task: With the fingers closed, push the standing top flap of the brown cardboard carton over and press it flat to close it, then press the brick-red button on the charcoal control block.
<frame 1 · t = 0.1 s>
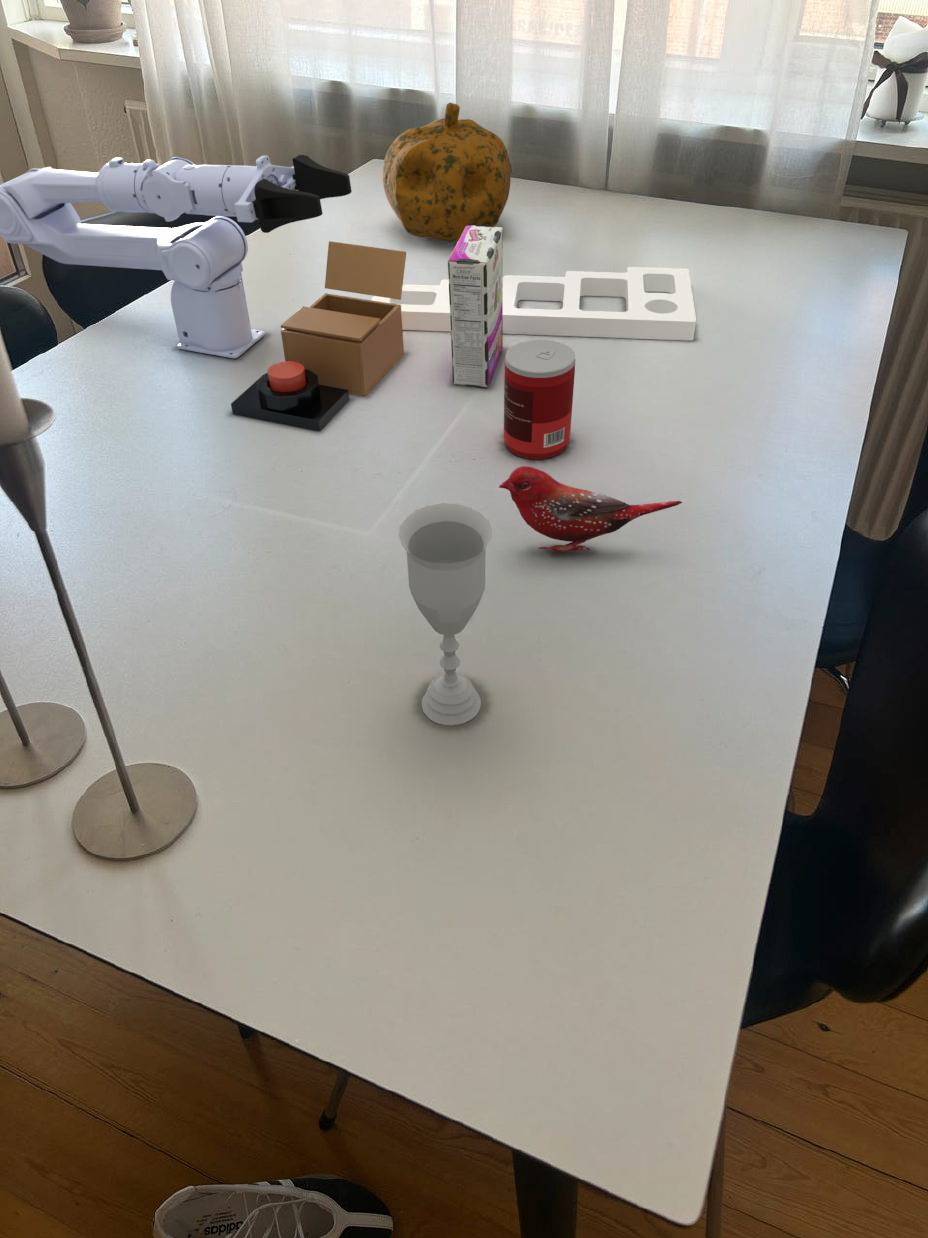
hand: (334, 194, 113), 22 cm above the table, tool horizontal, fingers open, 7 cm apart
holder: (532, 307, 140), on the table
canned food: (536, 443, 113), on the table
decorative pumpkin: (446, 231, 163), on the table
carton: (347, 368, 127), on the table
control block: (291, 407, 119), on the table
button: (287, 377, 117), point 4 cm above the table, slide at 0.1 cm
flap: (364, 270, 125), point 10 cm above the table, hinge at 115.0°
candy bar box: (477, 368, 127), on the table
chalice: (451, 704, 82), on the table
decorative bird figurine: (585, 553, 97), on the table
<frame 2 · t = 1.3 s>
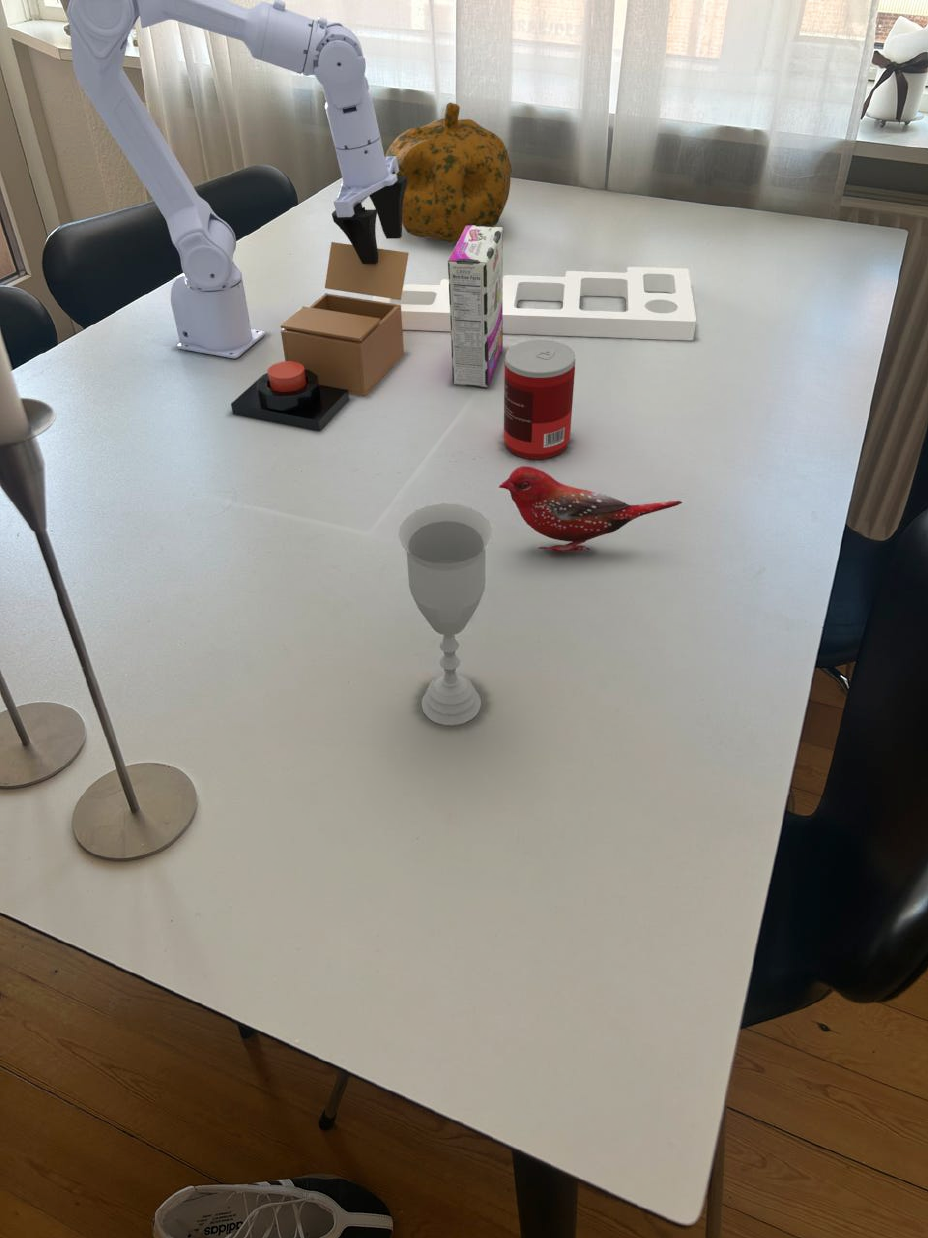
hand: (382, 249, 127), 11 cm above the table, tool pointing down, fingers open, 7 cm apart
flap: (366, 270, 125), point 10 cm above the table, hinge at 122.5°, touching gripper
everything else where it was.
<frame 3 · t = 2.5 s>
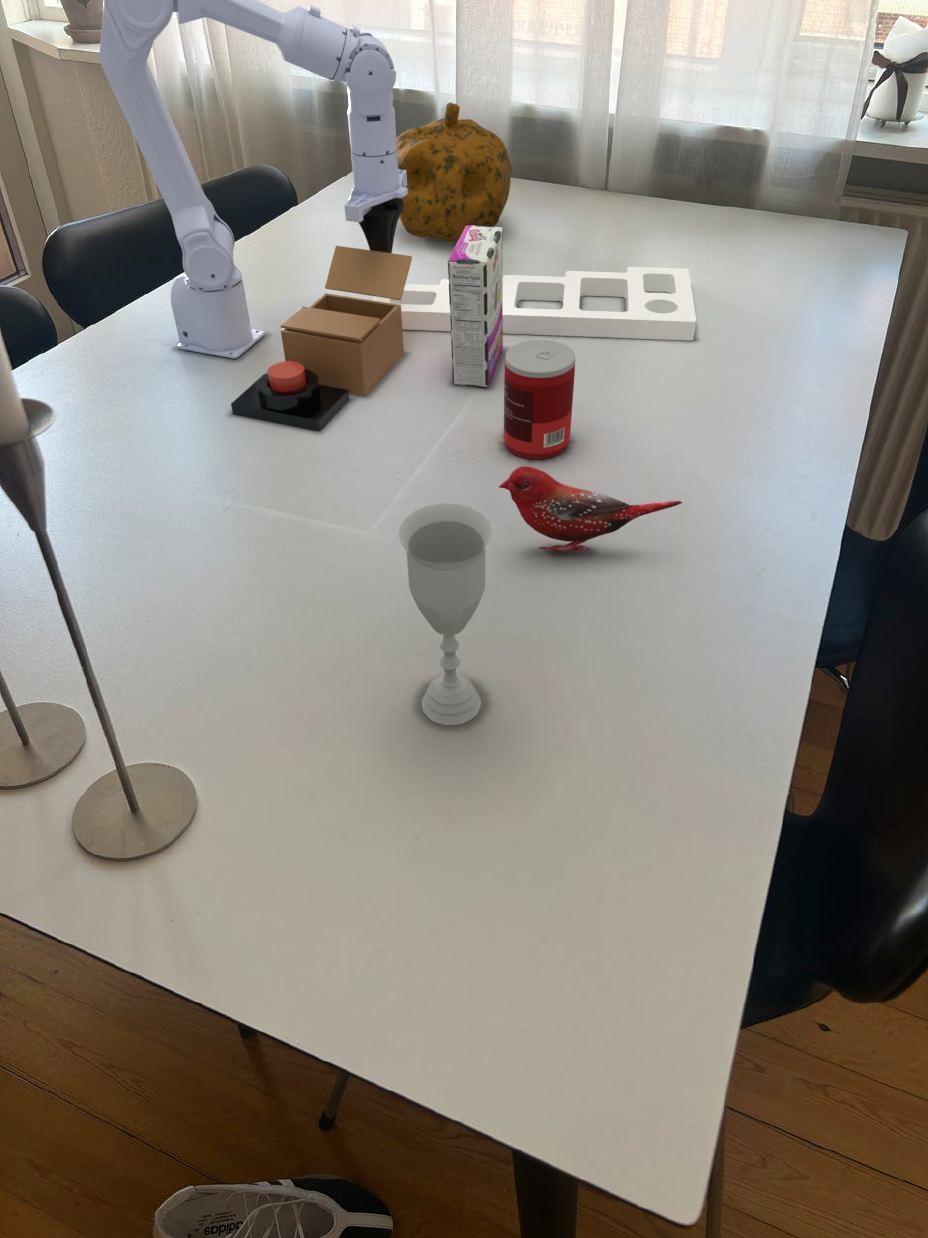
hand: (381, 258, 129), 10 cm above the table, tool pointing down, fingers closed
flap: (368, 272, 126), point 10 cm above the table, hinge at 136.1°
everything else where it was.
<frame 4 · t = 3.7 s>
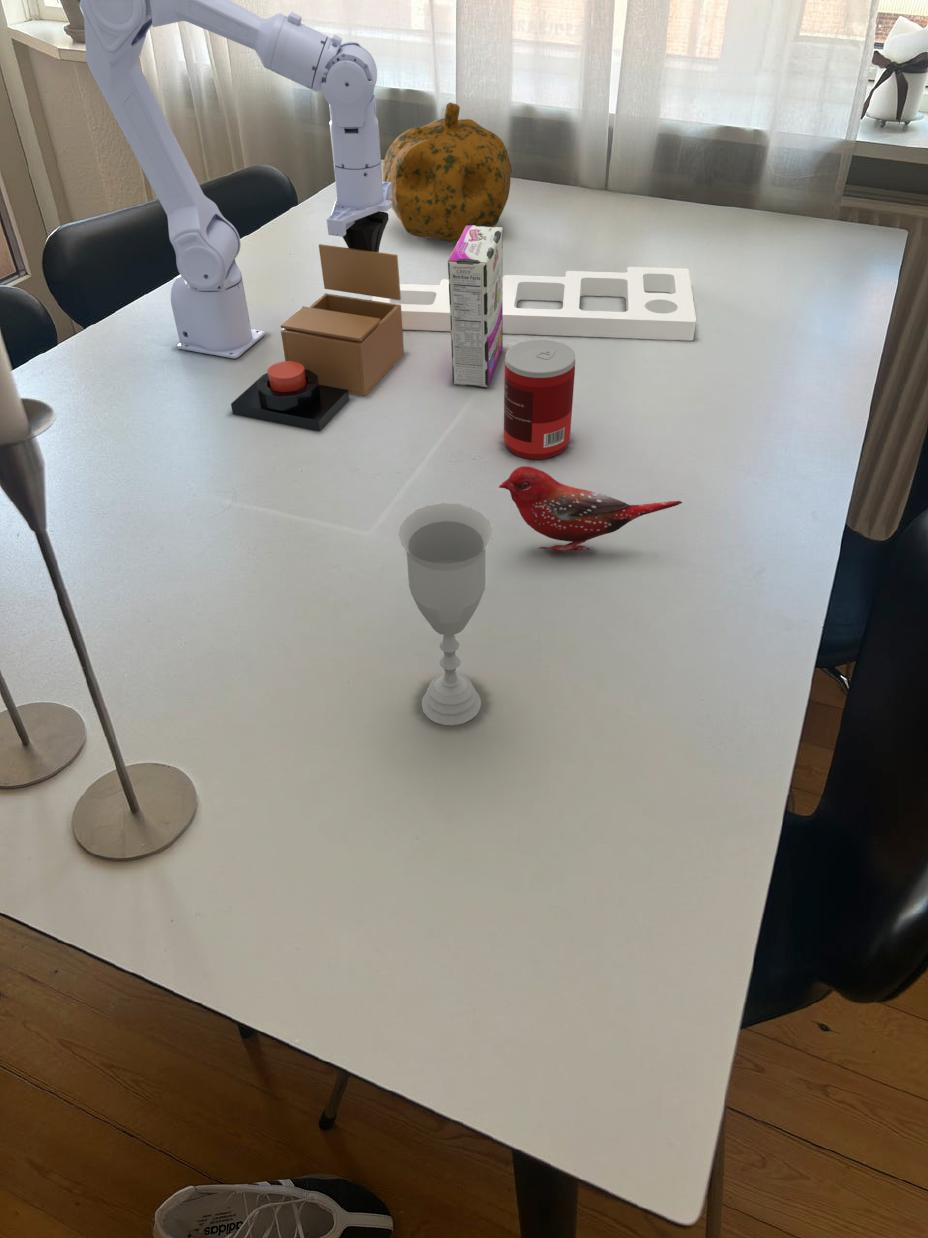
hand: (366, 272, 126), 10 cm above the table, tool pointing down, fingers closed
flap: (359, 272, 124), point 11 cm above the table, hinge at 87.8°, touching gripper
everything else where it was.
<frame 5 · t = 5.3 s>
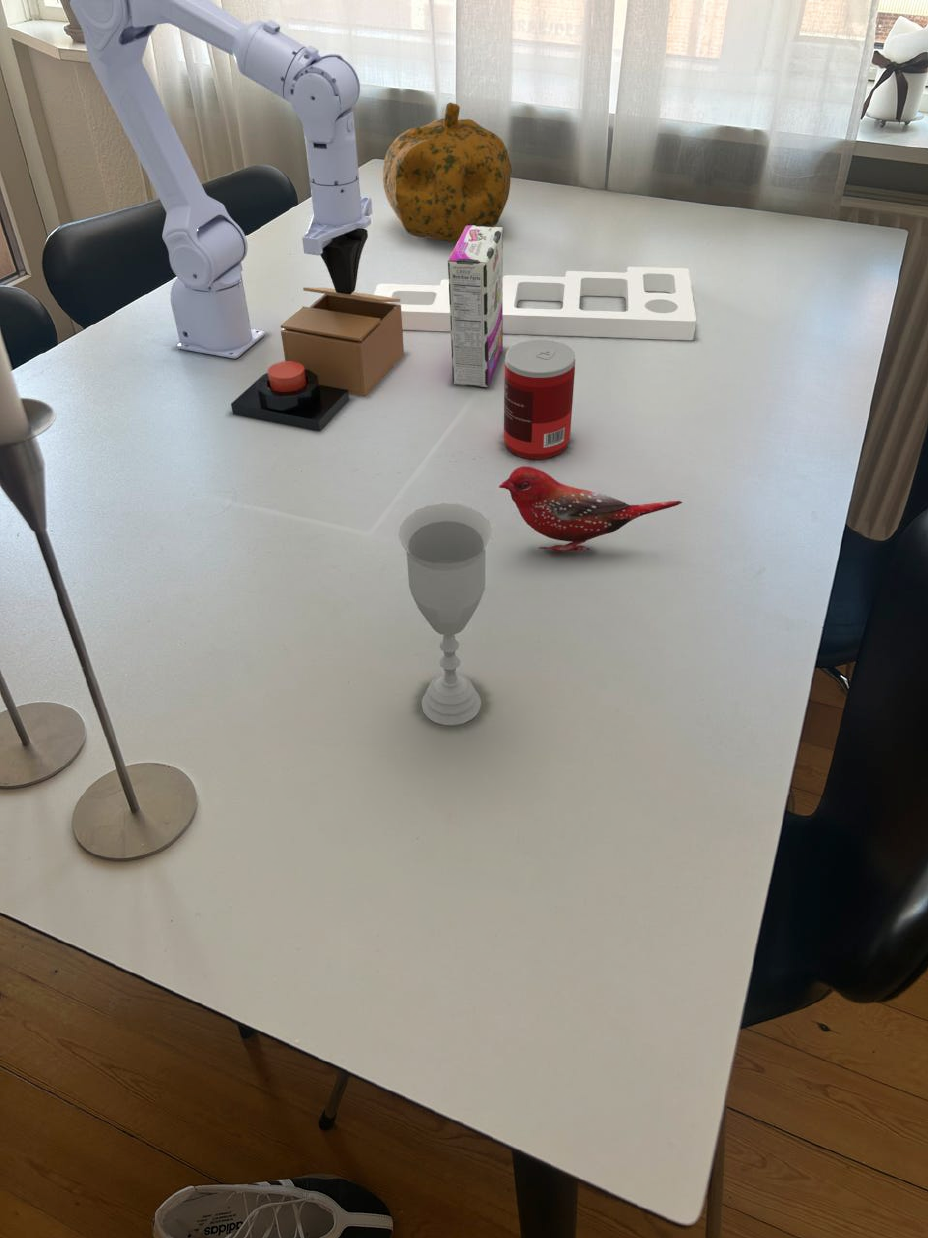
hand: (345, 291, 121), 10 cm above the table, tool pointing down, fingers closed
flap: (352, 294, 123), point 9 cm above the table, hinge at 21.8°, touching gripper
everything else where it was.
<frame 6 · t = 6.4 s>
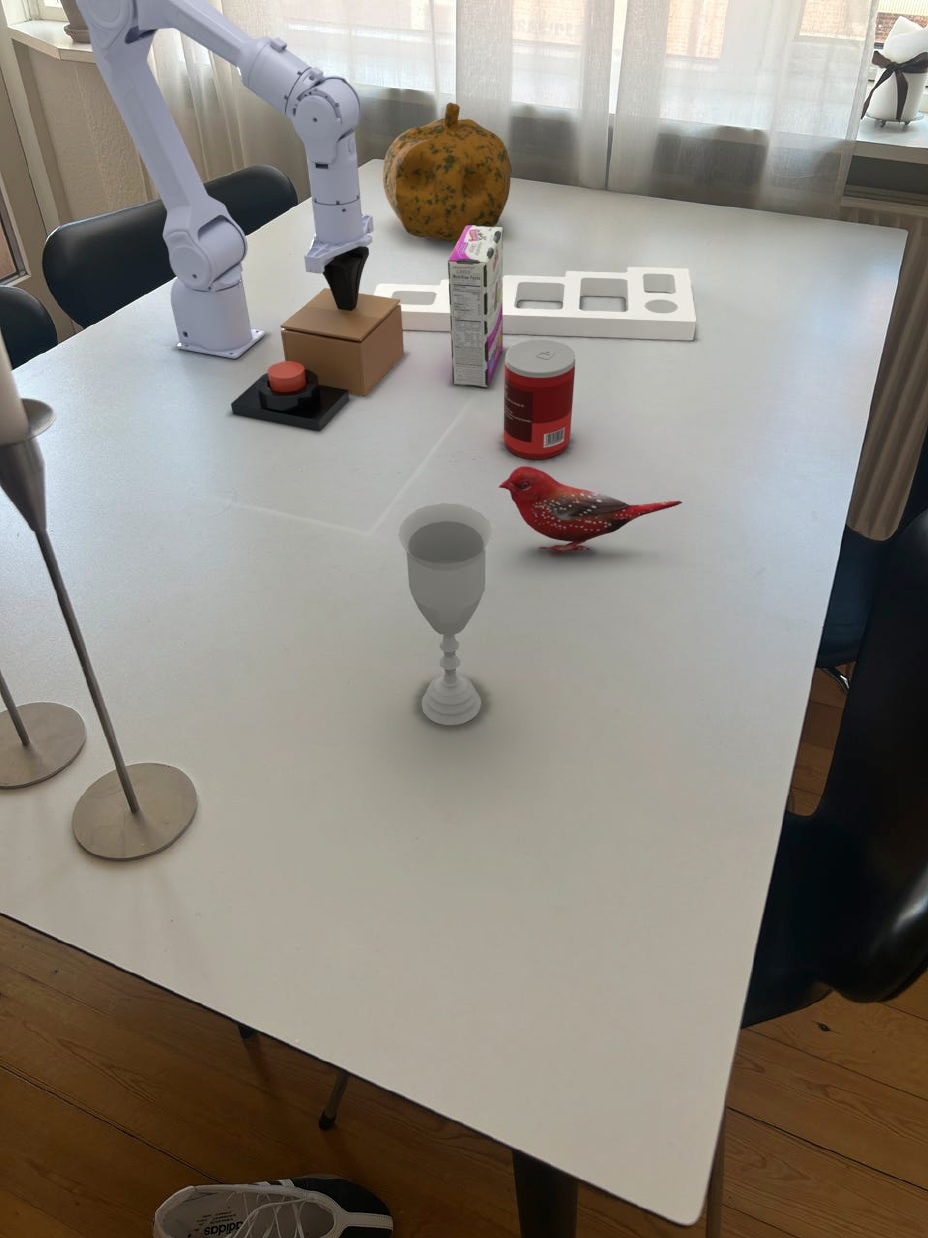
hand: (347, 307, 123), 8 cm above the table, tool pointing down, fingers closed, pressing on flap
flap: (352, 303, 124), point 8 cm above the table, hinge at -0.6°, touching gripper
everything else where it was.
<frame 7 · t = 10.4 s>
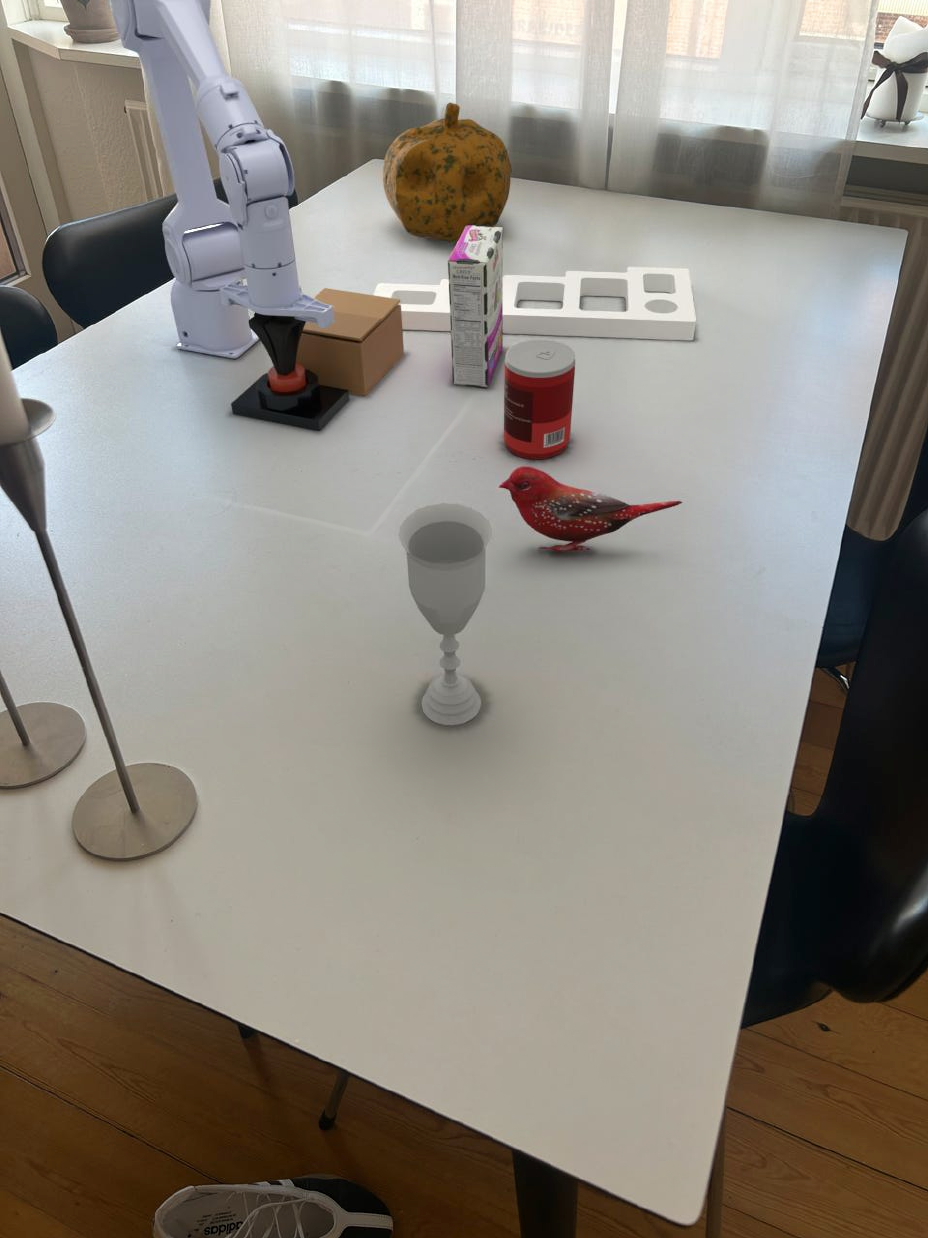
hand: (286, 371, 116), 5 cm above the table, tool pointing down, fingers closed, pressing on button
button: (287, 378, 117), point 4 cm above the table, slide at -0.1 cm, touching gripper
flap: (352, 304, 124), point 8 cm above the table, hinge at -1.3°
everything else where it was.
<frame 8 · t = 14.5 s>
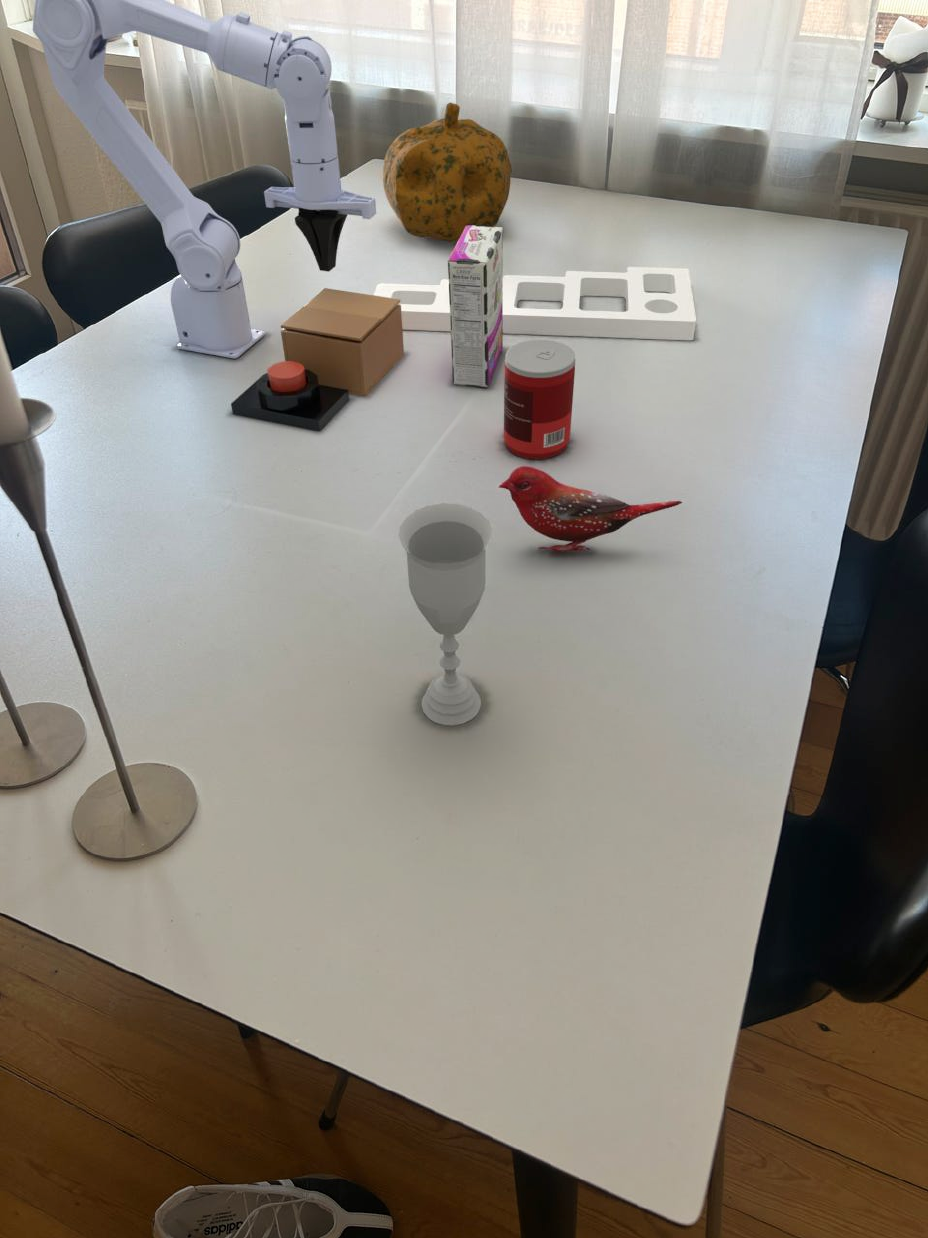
hand: (327, 268, 125), 10 cm above the table, tool pointing down, fingers closed
button: (287, 377, 117), point 4 cm above the table, slide at 0.1 cm
everything else where it was.
at the end: flap at -1° (first picture: +115°); button pushed in 1.1 cm at the most during the clip, back to where it started at the end; button slide at 0.1 cm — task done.
